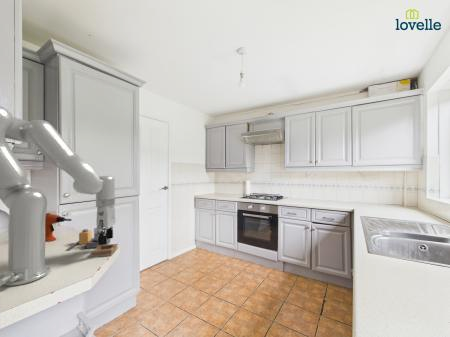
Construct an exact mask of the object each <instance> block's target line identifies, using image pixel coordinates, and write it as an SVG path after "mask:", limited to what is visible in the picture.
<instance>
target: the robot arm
mask: <svg viewBox="0 0 450 337" xmlns="http://www.w3.org/2000/svg"><path fill="white" fill-rule="evenodd" d="M7 139H9V140H12V141H17V142H21V143H28V144H33V145H34V146H35V147H36V148H37V149H38V150H39V151H40V152H41V153H42V154H43V156H44V157H45V158H46V159H47V160H48V161H49V162H50V164H52V165H53V166H55V167H56V168H58V169H60V170H62V171H63V172H65V173H66V174H68V175H69V176H70V177H71V178H72V179H73V183H72V187H73V189H74V191H76V192H77V193H80V194H84V195H95V207H96V208H97V209H96V228H97V232H98V244H99V245H103V244H107V239H110V240H111V239H113V238H114V225H116V210H115V209H116V208H115V206H116V199H115V198H116V193H115V192H116V191H115V190H116V189H115V187H116V186H115V185H116V184H115V182H116V181H115V178H114V176H112V175H101V176H99V175H98V174H97V173H96V172H95V170H94V169H93V168H92V167H91V166H90V164H89V163H87V162H86V161H85V160H84V159H83V158H81V157H80V156H79V155H78V153H76V151H74V150H73V149H72V148H71V146H70V145H69V144H68V143H67V141H65V139H64V138H63V137H62V136H61V135H60V133H59V132H58V131H57V129H56V128H55V127H54V126H53V125H52V124H51V123H50V122H48V121H47V120H43V119H34V120H30V121H29V120H25V119H21V118H17V117H14V116H13V114H12V113H11V111H10V110H9V109H7V108H5V107H4V106H2V105H0V200H1V201H2V203H3V204H4V205H5V206H6V208H7V209H8V210H9V213H8V214H9V215H8V226H7V227H8V228H7V231H8V232H7V233H8V234H7V236H8V238H7V239H8V247H7V248H8V250H7V251H8V252H7V253H8V254H7V256H8V259H7V262H8V267H7V268H8V269H7V270H6V274H5V275H4V276H3V277H2V278H0V287H2V286H8V287H10V286H20V285H25V284H29V283H31V282H34V281H38V280H40V279H42V278H43V277H45V276H46V277H47V275H48V274H50V272H51V266H50V265H46V242H45V217H46V214H47V208H48V199H47V196H46V195H45V193H43V192H42V191H41V190H40V189H37V188H34V187H33V185H32V184H31V182H30V181H29V180H28V173H27V170H26V168H25V167H24V165H23V164H22V163H21V162H20V161H19V158H17V156H16V155H15V154H14V152H13V151H12V149H11V147H10V145H9V143H8V141H7ZM102 227H103V228H102ZM102 230H103V231H102Z"/></svg>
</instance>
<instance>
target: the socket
mask: <svg viewBox="0 0 450 337" xmlns="http://www.w3.org/2000/svg"><path fill="white" fill-rule="evenodd" d="M92 238H93V239H92V240H90V241H89V242H87V243H86V248H85V249H86V250H88V249H95V248H97V247H98V246H99V244H98V242H94V237H92ZM110 243H111V238H110V239H107V244H103V245H109V244H110Z"/></svg>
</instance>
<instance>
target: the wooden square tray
mask: <svg viewBox="0 0 450 337" xmlns="http://www.w3.org/2000/svg"><path fill="white" fill-rule="evenodd" d="M117 251H118V243H112V244H110V243H109V244H108V245H99V246H98V247H97V248H93V250H92V251H91V258H99V257H101V258H102V257H112V256H113V255H114V253H115V252H117Z"/></svg>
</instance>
